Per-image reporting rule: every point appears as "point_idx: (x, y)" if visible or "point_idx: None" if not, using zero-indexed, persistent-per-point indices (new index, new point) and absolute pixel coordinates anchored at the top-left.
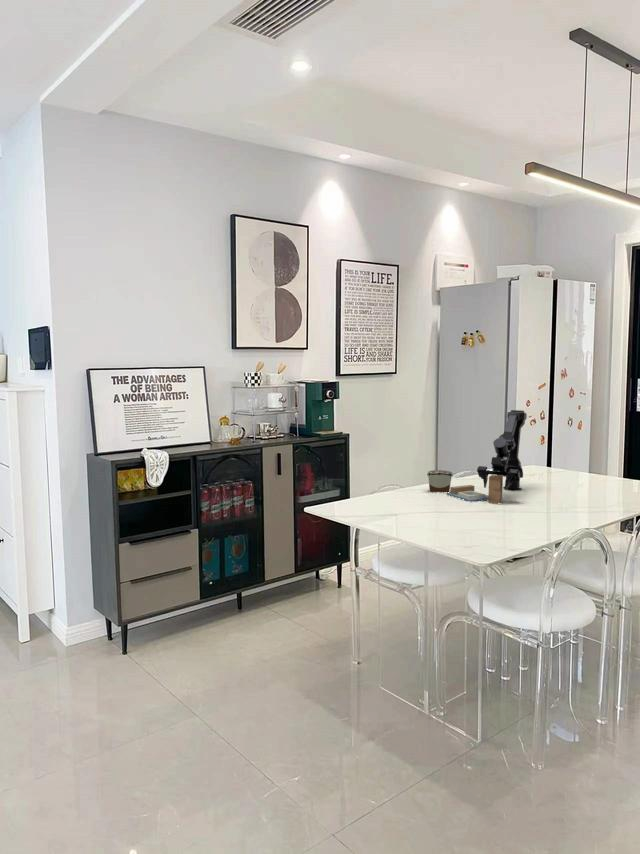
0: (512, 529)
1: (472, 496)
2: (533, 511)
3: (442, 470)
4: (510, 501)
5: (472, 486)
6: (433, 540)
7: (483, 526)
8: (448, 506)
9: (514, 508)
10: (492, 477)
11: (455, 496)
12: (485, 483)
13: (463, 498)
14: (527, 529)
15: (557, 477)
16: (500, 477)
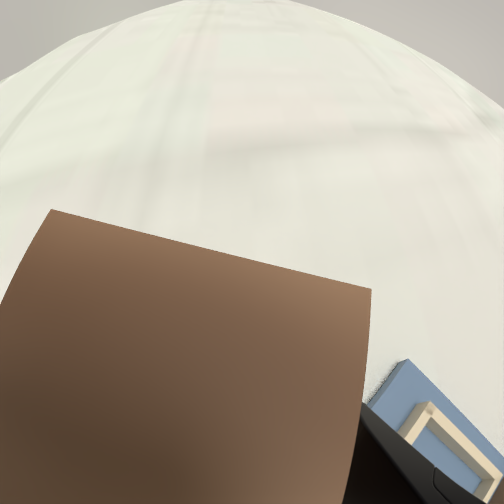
0: (178, 32)
1: (409, 425)
2: (6, 200)
3: None
4: None
5: None
6: (327, 15)
7: (253, 38)
8: (449, 214)
9: None
10: (260, 267)
11: (492, 451)
12: (368, 429)
13: (451, 405)
14: (138, 38)
15: None
16: (33, 239)
